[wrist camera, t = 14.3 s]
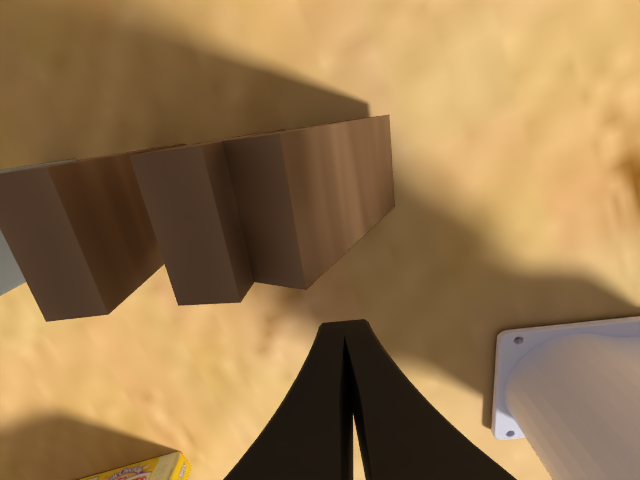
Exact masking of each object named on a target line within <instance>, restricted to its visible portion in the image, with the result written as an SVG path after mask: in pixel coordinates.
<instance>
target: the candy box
mask: <svg viewBox="0 0 640 480" xmlns="http://www.w3.org/2000/svg"><path fill="white" fill-rule="evenodd" d="M190 470H191V465H190V464H189V462H188V461H187V459H186V458H185V457H184V455H183V454H182V453H181V452H180V451H177V452H174V453H171V454H167V455H163V456H160V457H156V458H152V459H149V460H146V461H142V462H139V463H135V464H132V465H128V466H124V467H121V468H118V469H114V470H110V471H107V472H103V473H100V474H96V475H93V476H89V477H86V478H82V479H78V480H187V478H188V476H189V473H190Z"/></svg>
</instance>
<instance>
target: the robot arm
mask: <svg viewBox="0 0 640 480" xmlns="http://www.w3.org/2000/svg"><path fill="white" fill-rule="evenodd" d="M516 337H519V338H518V339H516V340H514V339H515V338H516ZM353 415H354V420H355V425H356V431H357V436H358V441H359V446H360V451H361V457H362V462H363V467H364V472H365V477H366V480H517V479H516V478H514V477H513V476H512V475H511V474H509V473H508V472H507V471H506V470H505V469H503V468H502V467H501V466H500V465H498V464H497V463H496V462H495V461H493V460H492V459H491V458H490V457H489V456H487V455H486V454H485V453H484V452H482V451H481V450H480V449H479V448H478V447H476V446H475V445H474V444H473V443H472V442H470V441H469V440H468V439H467V438H466V437H465V436H464V435H463V434H462V433H460V432H459V431H458V430H457V429H456V428H455V427H454V426H453V425H452V424H451V423H450V422H449V421H448V420H446V419H445V418H444V417H443V416H442V415H441V414H440V413H439V412H438V411H437V410H436V409H435V408H434V407H433V406H432V405H431V404H430V403H429V402H428V401H427V400H426V398H425V397H424V396H423V395H422V394H421V393H420V392H419V391H418V390H417V389H416V388H415V386H414V385H413V384H412V383H411V382H410V381H409V380H408V378H407V377H406V376H405V375H404V374H403V372H402V371H401V370H400V369H399V367H398V366H397V365H396V364H395V362H394V361H393V360H392V358H391V357H390V356H389V355H388V353H387V352H386V350H385V349H384V348H383V346H382V345H381V343H380V342H379V340H378V339H377V337H376V335H375V334H374V332H373V330H372V329H371V327H370V325H369V322H367V321H366V320H365V319H361V320H351V321H340V322H329V323H322V324H321V325H320V326H319V329H318V332H317V335H316V338H315V340H314V343H313V345H312V347H311V350H310V352H309V354H308V356H307V358H306V360H305V362H304V364H303V366H302V368H301V370H300V372H299V374H298V376H297V378H296V379H295V381H294V383H293V385H292V386H291V388H290V390H289V391H288V393H287V395H286V396H285V398H284V400H283V401H282V403H281V405H280V406H279V408H278V409H277V411H276V412H275V414H274V415H273V417H272V418H271V420H270V421H269V422H268V424H267V425H266V427H265V428H264V429H263V431H262V432H261V434H260V435H259V436H258V438H257V439H256V440H255V441H254V443H253V444H252V445H251V447H250V448H249V449H248V450H247V452H246V453H245V454H244V455H243V457H242V458H241V459H240V460H239V462H238V463H237V464H236V465H235V467H234V468H233V469H232V470H231V471H230V472H229V474H228V475H227V476H226V477H225V478H224V479H223V480H353ZM491 431H492V434H493V436H494V437H495V438H496V439H499V440H504V439H516V438H526V439H527V440H528V442H529V443H530V445H531V447H532V448H533V450H534V451H535V453H536V454H537V456H538V457H539V459H540V461H541V462H542V464H543V465H544V467H545V468H546V470H547V472H548V473H549V475H550V476H551V478H552V479H553V480H640V316H636V317H627V318H617V319H607V320H598V321H588V322H579V323H569V324H560V325H550V326H540V327H531V328H521V329H512V330H505V331H502V332H501V333H499V335H498V336H497V344H496V361H495V377H494V393H493V410H492V426H491Z"/></svg>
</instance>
